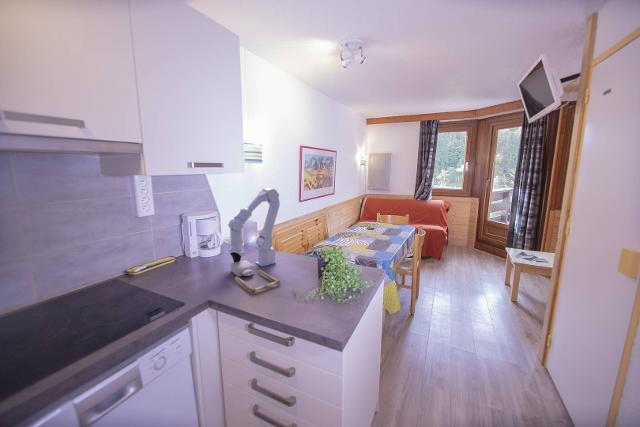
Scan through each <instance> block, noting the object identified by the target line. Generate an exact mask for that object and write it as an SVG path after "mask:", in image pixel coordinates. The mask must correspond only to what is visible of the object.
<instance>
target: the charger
mask: <svg viewBox="0 0 640 427" xmlns="http://www.w3.org/2000/svg"><path fill="white" fill-rule="evenodd" d="M230 271H231V272H232V273H233V274H234V275H235V276H237V277H239V278H240V277H243V276H245V277H249V276H252V275H254V274H255V265H254V264H252V263H251V262H249V261H248V260H240V261H239V262H234V261H233V262H232V263H230Z"/></svg>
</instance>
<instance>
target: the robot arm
mask: <svg viewBox="0 0 640 427" xmlns="http://www.w3.org/2000/svg"><path fill="white" fill-rule="evenodd" d="M279 198H280V194H279V192H278V191H277V189H274V188H269V187H264V188H263V189H261V191H259V192H258V194H257V196H255V198H254V199H253V200H252V201H251V203H250V204H249V205H248V206H247V207H244V208H242V209H240V210H239V212H238V213H237V215H235V216H234V217H233V218H232V219H231V220H230V221H229V223H228V227H229V231H230V245H229V248H228V249H229V250H228V252H229V253H230V256H231V257H232V260H233V263H234V262H239V261H242V260H241V259H242V257H244V256H245V252H244V249H243V240H242V238H243V236H242V229H243V228H244V224H245V223H246V222H247V221H248V220H249V219H250V218H251V217H252V215H253V214H252V212H254V210H256V208H258V206H260V204H262V203H264V202H267V203H268V206H269V207H268V210H267V214H266V217H265V221H264V224H263V228H262V231H261V232H260V233H259V234H258V237H257V238H256V240H255V242H256V245H257V260H258V261H255V264H257V265H258V266H260V267H266V266H269V265H274V264H276V263H277V261H276V251H275V248H274V247H273V234H272V233H273V230H274V227H275V222H276V219H277V216H278V212H279V209H280V205H281V204H280V199H279ZM273 261H274V262H273Z"/></svg>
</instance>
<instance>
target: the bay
mask: <svg viewBox="0 0 640 427" xmlns="http://www.w3.org/2000/svg"><path fill="white" fill-rule="evenodd" d="M258 275H260V276H262V277H263V278H265V279H266V280H267V281H270V283H267V284H264V285H260V286H258V287H255V288H254V287H252V286H251V285H249V284H248V283H247V282H245V280H242V279H241V278H240V277H238V276H237V275H235V276H234V281H235V283H237V284H239V285H240V287H243V288H244V289H245V290H246V291H248V292H249V293H250V294H252V295H256V294H258V293H261V292H264V291H268V290H270V289H273V288H277V287H278V286H281V281H280V280H279V279H277V278H275V277H273V276H272V275H271V274H268V273H267V272H265V271H264V270H262V269H259V270H258Z"/></svg>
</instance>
